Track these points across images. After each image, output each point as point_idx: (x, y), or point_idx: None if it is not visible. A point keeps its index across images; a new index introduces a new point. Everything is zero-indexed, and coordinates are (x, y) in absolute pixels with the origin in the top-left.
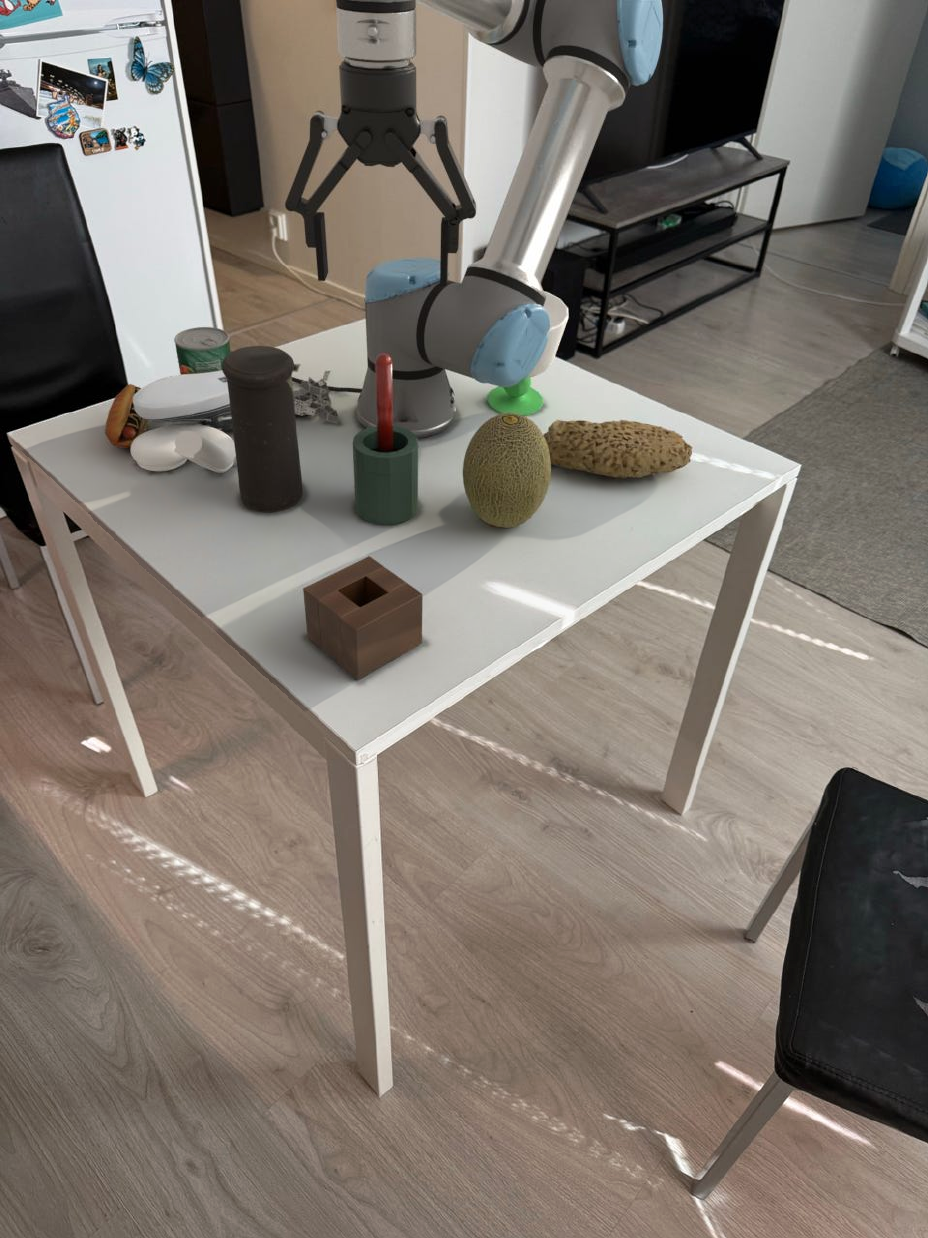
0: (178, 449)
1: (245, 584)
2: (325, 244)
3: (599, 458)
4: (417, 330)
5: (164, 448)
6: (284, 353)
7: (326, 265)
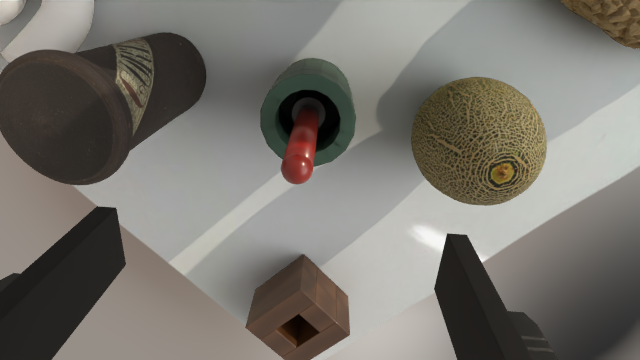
0: None
1: (186, 227)
2: (68, 274)
3: (629, 40)
4: None
5: None
6: (98, 100)
7: (105, 243)
